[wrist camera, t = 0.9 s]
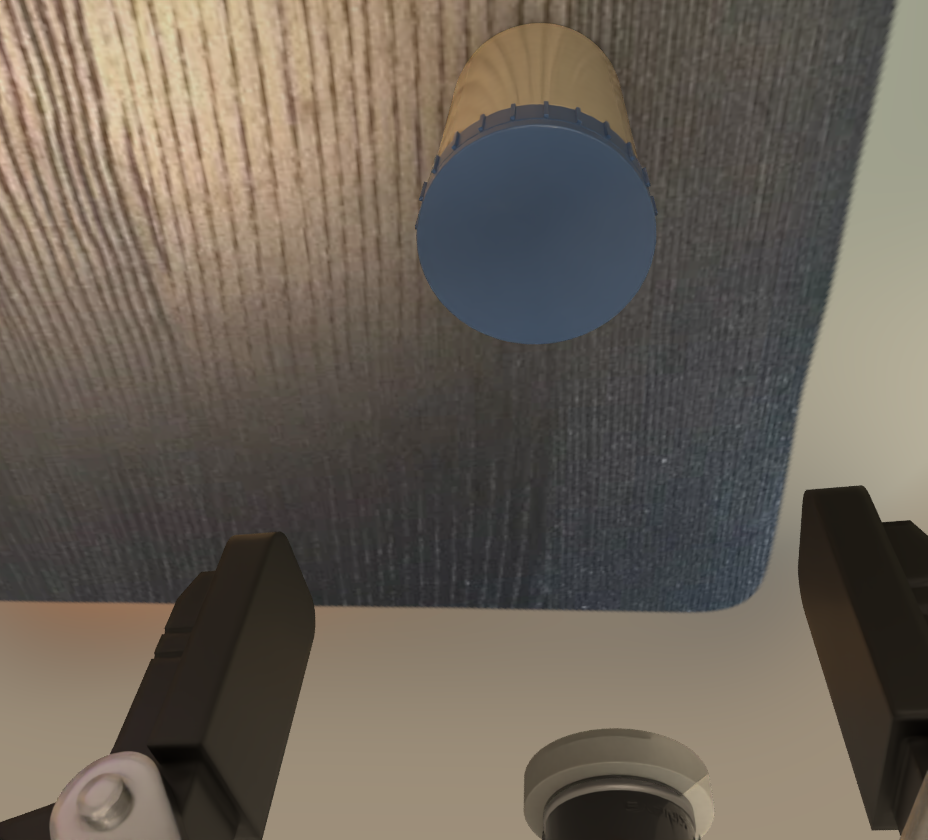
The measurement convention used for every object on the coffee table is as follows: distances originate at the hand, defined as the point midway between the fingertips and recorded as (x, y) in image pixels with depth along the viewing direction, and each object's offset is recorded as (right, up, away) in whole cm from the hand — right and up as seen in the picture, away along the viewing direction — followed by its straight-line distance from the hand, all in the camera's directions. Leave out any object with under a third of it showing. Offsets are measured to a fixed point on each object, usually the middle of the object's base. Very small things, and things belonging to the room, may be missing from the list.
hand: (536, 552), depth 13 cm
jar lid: (+1, +6, +8) cm, 11 cm away
